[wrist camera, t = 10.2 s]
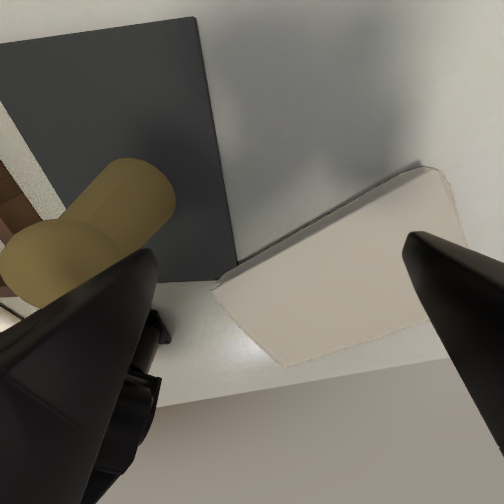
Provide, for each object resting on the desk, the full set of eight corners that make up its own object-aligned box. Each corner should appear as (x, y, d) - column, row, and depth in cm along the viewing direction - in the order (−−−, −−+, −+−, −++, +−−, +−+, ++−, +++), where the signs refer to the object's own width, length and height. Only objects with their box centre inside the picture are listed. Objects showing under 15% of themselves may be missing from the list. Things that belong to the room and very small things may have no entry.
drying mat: (239, 275, 26) (239, 279, 25) (115, 281, 27) (112, 285, 27) (196, 17, 14) (193, 16, 14) (-23, 48, 15) (-32, 48, 15)
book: (472, 276, 25) (503, 306, 22) (281, 347, 34) (284, 376, 30) (440, 149, 17) (480, 168, 14) (204, 284, 26) (197, 314, 23)
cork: (155, 238, 23) (87, 345, 14) (90, 198, 20) (-40, 296, 12) (189, 192, 20) (132, 290, 11) (118, 139, 18) (-26, 210, 9)
